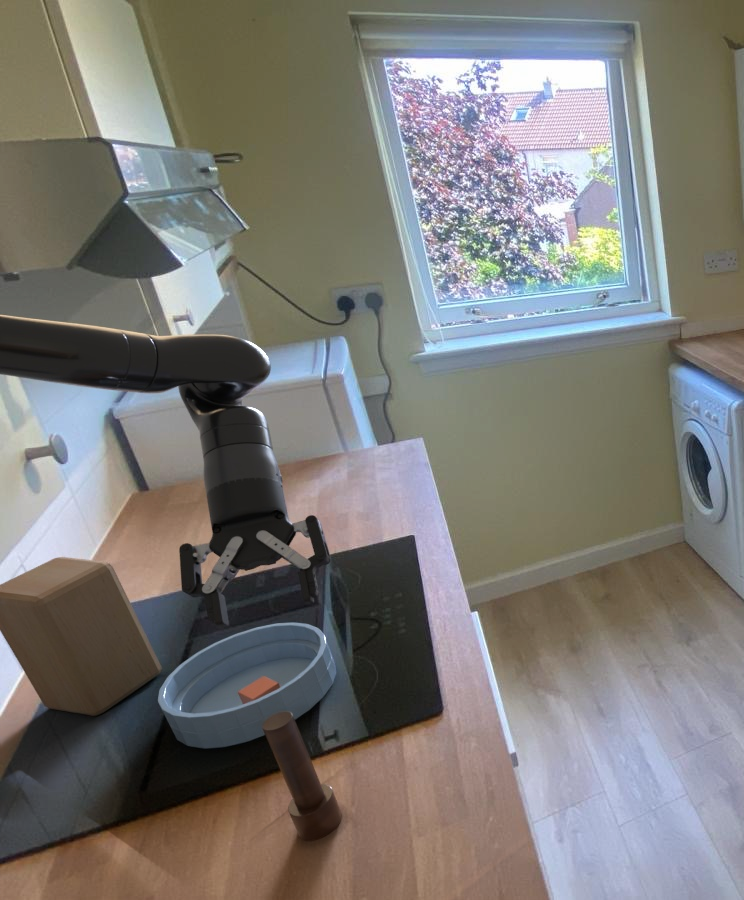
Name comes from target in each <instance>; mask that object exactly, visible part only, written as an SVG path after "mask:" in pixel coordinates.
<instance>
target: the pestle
mask: <svg viewBox="0 0 744 900" xmlns="http://www.w3.org/2000/svg"><path fill="white" fill-rule="evenodd" d="M262 729H263V731H264V733H265V735H264V736H265V738H266V740H267V742H268V744H269V747H270V749H271V752H272V754H273V756H274V759H275V762H276V764H277V766H278V768H279V770H280V773H281V775H282V777H283V780H284V782H285V784H286V786H287V788H288V791H289V793H290V795H291V798H292V799H291V801H290V802H289V804H288V806H287V811H288V814H289V816H290V818H291V820H292V823H293V825H294V827H295V830H296V833H297V834H298V837H299V838H300V839H301V840H303V841H307V842H310V841H311V842H312V841H316V840H320V839H322V838H324V837H326V836H328V835H329V834H331V833H332V832H334V831H335V829H337V828H338V826H339V825H340V823H341V821H342V819H343V813H342V810H341V808H340V805H339V802H338V800H337V797H336V795H335V793H334V790H333V788H332V786H331V785H329V784H325V783H321V781H320V779H319V776H318V774H317V772H316V768H315V767H314V764H313V762H312V759H311V756H310V754H309V752H308V749H307V747H306V745H305V741H304V739H303V736H302V734H301V732H300V729H299V726H298V724H297V722H296V719H295V720H294V717H293V715H292V713H291V712H288V711H283V712H279V713H276V714H274V715H272V716H270V717H269V718H267V719H266V720H265V721H264V722H263V724H262Z"/></svg>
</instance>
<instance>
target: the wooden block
mask: <svg viewBox="0 0 744 900" xmlns="http://www.w3.org/2000/svg"><path fill="white" fill-rule="evenodd" d="M133 607H134V606H132V603H131V601H130V599H129V597H128V595H127V593H126V591H125V589H124V587H123V585H122V583H121V580H120V578H119V577H118V573H116V570H115V568H114V566H113V565H112V564H110V562H108V561H101V560H94V559H93V560H92V559H84V558H76V557H75V558H74V557H66V556H59V557H55V558H52V559H50V560H48V561H46V562H44V563H42V564H40V565H38V566H36V567H33V568H31V569H29V570H27V571H25V572H24V573H22V574H19V575H17V576H15V577H13V578H11V579H9V580H7V581H5V582H3V583H1V584H0V633H1V634H2V636H3V638H4V639H5V641H6V643H7V645H8V646H9V648H10V650H11V652H12V654H13V655H14V656H15V658H16V660H17V662H18V664H19V665H20V667H21V669H22V670H23V673H24V674H25V675H26V677H27V679H28V681H29V682H30V684H31V686H32V687H33V689H34V691H35V693H36V694H37V695H38V698H39V699H40V701H41V702H42V705H43V706H44V707H46V708H47V709H51V710H57V711H62V712H67V713H68V712H69V713H74V714H81V715H87V716H93V717H94V716H98V715H102V714H103V713H105V712H107V711H108V710H109V709H111V708H112V707H114V706H115V705H117V704H118V703H120V702H121V701H123V700H124V699H125V698H127V697H128V696H130V695H131V694H133V693H134V692H135V691H137V690H138V689H140V688H142V686H144V685H146V684H147V683H149V682H150V681H151V680H153V679H154V678H156V677H157V676H158V675H160V674H161V673H162V670H163V668H162V667H163V666H162V665H161V662H160V661H159V659H158V657H157V655H156V653H155V650H154V648H153V646H152V644H151V642H150V640H149V638H148V636H147V634H146V632H145V630H144V628H143V626H142V624H141V621H140V619H139V618H138V615H137V613H136V611H135V609H134V608H133Z"/></svg>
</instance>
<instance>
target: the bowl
mask: <svg viewBox="0 0 744 900" xmlns="http://www.w3.org/2000/svg"><path fill="white" fill-rule="evenodd" d="M337 674H338V673H337V666H336V662H335V659H334V656H333V654H332V651H331V647H330V646H329V643H328V639H327V637H326V634H324V633H323V631H322V630H321V629H320V628H319V627H316V626H315V625H311V624H309V623H303V622H294V621H293V622H280V623H272V624H267V625H261V626H258V627H254V628H251V629H247V630H244V631H241V632H237V633H234V634H232V635H230V636H228V637H225V638H223V639H221V640H219V641H218V640H217V641H216V642H214V643H212V644H210V645H208V646H207V647H205V648H203V649H201V650H199V651H198V652H196V653H195V654H193V655H192V656H190V657H189V658H188V659H186V660H185V661H183V662H182V663H181V664H179V665H178V666H177V667H176V668H175V669H174V670H173V671H172V672H171V673H170V674H169V675H167V676H166V678H165V680H164V682H163V684H162V685H161V687H160V688H159V690H158V697H157V703H158V704H159V707H160V709H161V711H162V713H163V715H164V716H165V719H166V720H167V723H168V725H169V726H170V727H169V728H171V731H172V733H173V735H174V737H175V739H176V740H177V741H178V742H180V743H182V744H184V745H185V746H187V747H191V748H199V749H217V748H227V747H231V746H236V745H240V744H243V743H247V742H251V741H253V740H255V739H258V738H261V737H264V736H265V733H264V731H263V729H262V724H263V722H264V721H265V720H266V719H267V718H269V717H270V716H272V715H274V714H276V713H279V712H283V711H288V712H291V713H292V715H293V717H294V720H295V721H296V720H297V719H298V718H300V717H301V716H302V715H304V714H306V713H307V712H309V711H310V710H311V709H312V708H313V707H315V706H316V705H317V703H319V702H320V701H321V700H322V699H323V698H324V697H325V696H326V694H327V693H328V692H329V690H330V689H331V687H332V686H333V684H334V683H335V679H336V676H337ZM263 676H265V677H267V678H269V679H271V680H273V681H275V682H277V683H279V685H280V688H279V689H277V690H275V691H273V692H271V693H269V694H267V695H265V696H263V697H261V698H259V699H257V700H254V701H251V702H249V703H246V704H243V703H242V701H241V699H240V696H239V694H238V691H240V690H242V689H243V688H245V687H246V686H248V685H250V684H251V683H253V682H255V681H256V680H258V679H260V678H261V677H263Z"/></svg>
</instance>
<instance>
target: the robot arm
mask: <svg viewBox="0 0 744 900" xmlns="http://www.w3.org/2000/svg"><path fill="white" fill-rule="evenodd" d="M271 371H272V364H271V361H270V358H269V356H268V355H267V354H266V352H265V351H264V350H263V349H262V348H260V347H259V346H258V345H256V344H254V343H253V342H251V341H249V340H247V339H244V338H241V337H237V336H234V335H227V334H211V333H210V334H207V333H205V334H172V335H154V334H149V333H144V332H139V331H132V330H126V329H125V330H124V329H119V328H113V327H108V326H107V327H105V326H99V325H93V324H92V325H91V324H84V323H74V322H65V321H58V320H57V321H56V320H49V319H38V318H29V317H22V316H14V315H8V314H7V315H5V314H0V375H3V376H9V377H16V378H22V379H29V380H34V381H39V382H40V381H41V382H45V383H54V384H60V385H66V386H74V387H81V388H88V389H97V390H106V391H118V392H129V393H140V394H161V393H165V392H169V391H170V390H172V389H175V388H178V392H179V396H180V398H181V400H182V402H183V405H184V407H185V408H186V410H187V412H188V415H189V416H190V418H191V420H192V422H193V424H194V425H195V427H196V428H197V429H198V431H199V439H200V447H201V452H202V459H203V482H204V483H203V484H204V489H205V496H206V501H207V507H208V513H209V514H208V515H209V520H210V526H211V538H210V541H209V542H205V543H200V544H199V543H198V544H194V545H192V544H191V543H190V542H189V543H188V542H186V543H183V544H181V545H180V546H179V548H178V549H179V551H178V553H179V566H180V567H179V568H180V569H179V570H180V583H181V584H180V585H181V591H182V592H183V593H185V594H186V595H188V596H190V597H192V598H204V602H205V610H206V615H207V619H208V621H209V622H210V623H212V624H214V625H216V626H217V627H219V628H224V627H228V626H230V620H229V614H228V609H227V602H226V596H225V595H223V593H224V591H226V588H227V587H228V585H229V584H230V582H232V581H233V580H234V579H235V577H236V576H237V575H238V573H239V572H240V571H241V570H242V571H245V572H248V571H252V570H254V569H257V568H258V567H261V566H271V565H275V564H277V562H278V561H280V560H281V559H282V560H285V561H287V562H288V563H289V564H291V565H293V566H294V567H296V568H297V569H299V570H300V571H297V574H298V579H299V585H300V590H301V597H302V600H303V602H304V603H305V604H306V605H310V604H314V603H315V598H318V597H319V593H320V591H319V585H318V581H317V576H316V572H317V570H318V569H320V568H321V567H323V566H326V565H329V564H330V563H331V562H332V557H331V554H330V550H329V546H328V543H327V539H326V536H325V533H324V530H323V525H322V523H321V522H320V520H319V519H318V518H317V517H316V515H314V514H310V515H307V517H306V518H305V519H303V520H300V521H297V522H296V521H295V522H293V523H292V522H291V520H290V517H289V513H288V508H287V503H286V497H285V491H284V488H283V483H284V482H283V476H282V474H281V471H280V467H279V464H278V461H277V459H276V456H275V453H274V448H273V442H272V437H271V431H270V427H269V424H268V421H267V418H266V416H265V415H264V414H263V412H261V411H260V410H259V409H256V408H254V407H251V406H247V405H243V404H242V403H243V399H244V398H245V397H247V395H250V393H252V392H253V391H255V390H256V389H258V388H259V387H260V386H261V385H262V384H263V383H265V382H266V380H267V379H268V378H269V376H270V374H271ZM297 533H301V535H303V537H305V538H306V539H307V538H308V539H310V544H311V546H312V550H313V553H314V554H313V555H311V556H309V557H308V558H307V557H305V556H304V555H302V554H300V553H299V552H298V551H296V550H295V549H293V548H292V547H290V545H291V543H292V542H293V540H294V538H295V537H296V535H297ZM211 553H213V554H214V555H216V556H217V557H219V558H218V559H217V561H216V563H215V564H214V566H213V567H212V569H211V574H210V575H209V576H208V578H207V580H206V581H205V583H203V578H202V575H203V574H202V564H203V563H205V562H206V560H207V558H208V555H209V554H211Z"/></svg>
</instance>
